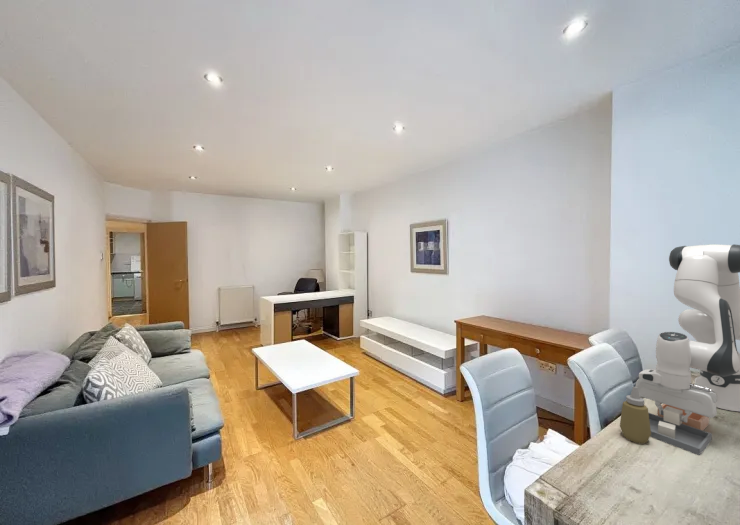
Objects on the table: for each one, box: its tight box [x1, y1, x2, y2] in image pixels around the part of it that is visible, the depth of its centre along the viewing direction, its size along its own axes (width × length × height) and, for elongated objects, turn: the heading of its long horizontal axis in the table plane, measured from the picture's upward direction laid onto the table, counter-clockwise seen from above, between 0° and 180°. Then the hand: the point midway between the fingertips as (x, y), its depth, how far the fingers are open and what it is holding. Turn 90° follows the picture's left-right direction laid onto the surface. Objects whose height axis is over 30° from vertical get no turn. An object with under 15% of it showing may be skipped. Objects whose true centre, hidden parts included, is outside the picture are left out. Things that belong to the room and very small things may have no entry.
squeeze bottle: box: [619, 386, 651, 445], centre depth 103 cm, size 8×8×18 cm
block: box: [658, 421, 676, 439], centre depth 103 cm, size 4×4×4 cm
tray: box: [649, 412, 713, 456], centre depth 105 cm, size 15×17×3 cm
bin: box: [657, 403, 710, 431], centre depth 113 cm, size 11×11×5 cm
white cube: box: [664, 406, 683, 425], centre depth 107 cm, size 4×4×4 cm
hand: (673, 417), depth 107 cm, fingers closed on white cube, 4 cm apart
